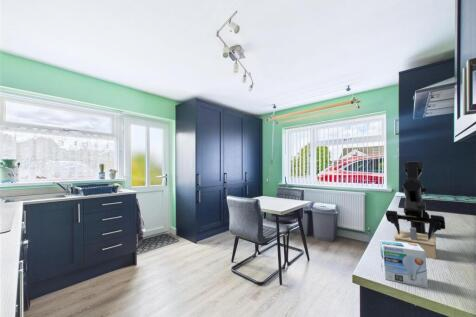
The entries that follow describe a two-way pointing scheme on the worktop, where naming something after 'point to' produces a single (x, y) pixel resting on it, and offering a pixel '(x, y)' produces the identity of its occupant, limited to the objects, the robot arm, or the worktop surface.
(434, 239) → the sliding lid
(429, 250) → the wooden box
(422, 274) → the light bulb box
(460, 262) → the worktop surface
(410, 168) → the robot arm
